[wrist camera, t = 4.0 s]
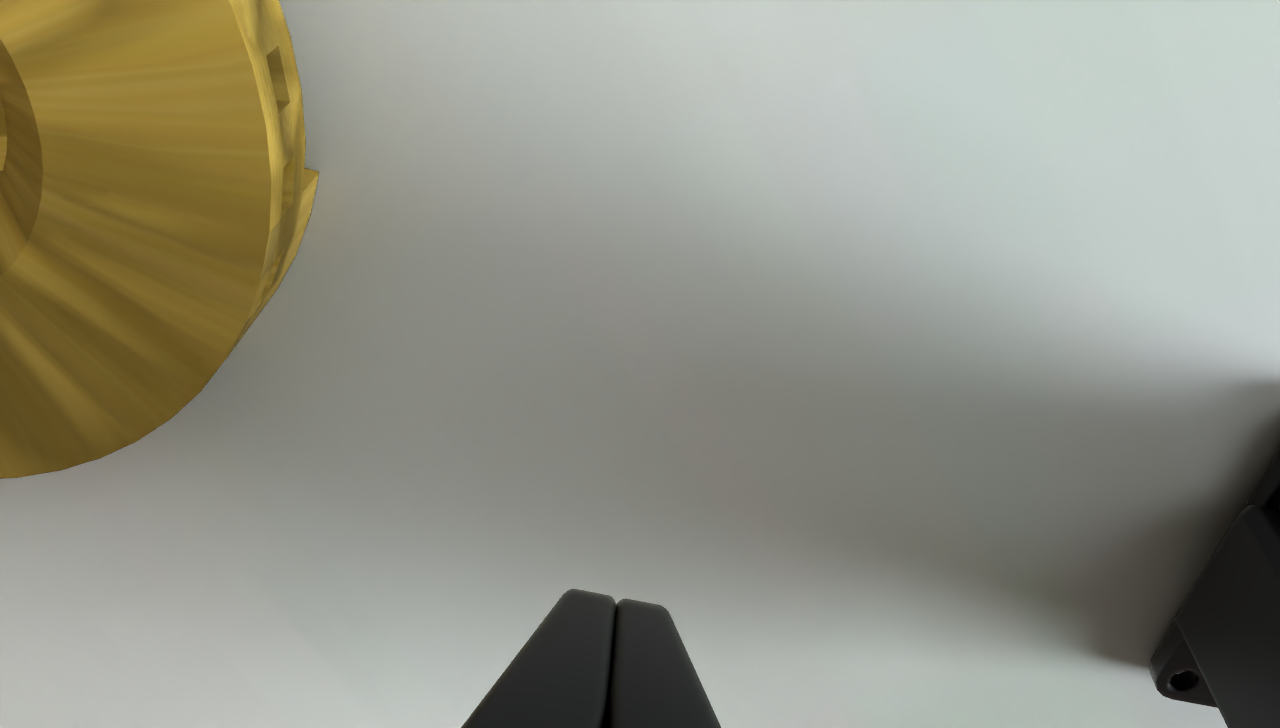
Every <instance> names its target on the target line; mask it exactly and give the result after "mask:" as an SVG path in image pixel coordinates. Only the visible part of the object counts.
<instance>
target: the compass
mask: <svg viewBox="0 0 1280 728" xmlns="http://www.w3.org/2000/svg"><path fill="white" fill-rule="evenodd" d="M305 146H306V141H305V128H304V116H303V103H302V91H301V86H300V81H299V76H298V71H297V66H296V61H295V56H294V52H293V47H292V42H291V37H290V33H289V30H288V27H287V24H286V21H285V18H284V15H283V12H282V9H281V6H280V3H279V0H0V479H1V478H18V477H24V476H30V475H36V474H42V473H48V472H54V471H60V470H63V469H66V468H70V467H73V466H76V465H80V464H83V463H86V462H89V461H93V460H96V459H99V458H102V457H104V456H106V455H108V454H110V453H113V452H115V451H117V450H119V449H121V448H123V447H126V446H128V445H130V444H132V443H134V442H136V441H138V440H140V439H141V438H143V437H144V436H146V435H147V434H149V433H150V432H152V431H153V430H155V429H156V428H158V427H159V426H161V425H162V424H164V423H165V422H167V421H168V420H170V419H171V418H172V417H173V416H174V415H176V414H177V413H178V412H179V411H180V410H181V409H182V408H183V407H184V406H185V405H186V404H188V403H189V402H190V401H191V400H192V399H193V398H194V397H195V396H196V395H197V394H198V393H200V392H201V390H202V389H203V388H204V386H205V385H206V384H207V383H208V381H209V380H210V379H211V378H212V376H213V375H214V374H215V372H216V371H217V370H218V369H219V367H220V366H221V365H222V363H223V362H224V361H225V360H226V358H227V357H228V356H229V354H230V353H231V351H232V350H233V349H234V347H235V346H236V345H237V343H238V342H239V341H240V339H241V338H242V336H243V335H244V334H245V332H246V331H247V330H248V328H249V327H250V325H251V324H252V323H253V321H254V320H255V319H256V317H257V316H258V315H259V313H260V312H261V310H262V309H263V308H264V306H265V305H266V304H267V302H268V301H269V300H270V298H271V297H272V295H273V294H274V293H275V291H276V290H277V288H278V287H279V285H280V283H281V281H282V279H283V277H284V276H285V274H286V272H287V270H288V268H289V267H290V265H291V263H292V261H293V259H294V258H295V256H296V254H297V251H298V248H299V245H300V243H301V240H302V237H303V234H304V232H305V229H306V226H307V223H308V221H309V218H310V215H311V210H312V205H313V200H314V196H315V191H316V186H317V181H318V176H319V172H317V171H314V170H310V169H307V168H304V165H305Z"/></svg>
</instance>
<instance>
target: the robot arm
mask: <svg viewBox="0 0 1280 728" xmlns="http://www.w3.org/2000/svg"><path fill="white" fill-rule="evenodd" d="M1149 671H1150V674H1151V676H1152V679H1153V681H1154V683H1155V686H1156V688H1157V690H1158V691H1159V692H1160V693H1161V694H1162V695H1163V696H1165V697H1168V698H1171V699H1174V700H1179V701H1185V702H1190V703H1196V704H1201V705H1206V706H1212V707H1217V708H1219V710H1220V712H1221V714H1222V716H1223V718H1224V720H1225V723H1226V725H1227V727H1228V728H1280V450H1279V452H1278V453H1277V455H1276V456H1275V458H1274V460H1273V461H1272V463H1271V465H1270V466H1269V468H1268V469H1267V471H1266V473H1265V474H1264V476H1263V478H1262V479H1261V481H1260V482H1259V484H1258V486H1257V487H1256V489H1255V491H1254V492H1253V494H1252V495H1251V497H1250V499H1249V500H1248V502H1247V504H1246V505H1245V507H1244V509H1243V510H1242V512H1241V513H1240V514H1239V515H1238V516H1237V517H1236V518H1235V520H1234V522H1233V523H1232V525H1231V526H1230V528H1229V530H1228V531H1227V533H1226V535H1225V536H1224V538H1223V540H1222V541H1221V543H1220V544H1219V546H1218V548H1217V549H1216V551H1215V553H1214V554H1213V556H1212V558H1211V559H1210V561H1209V562H1208V564H1207V566H1206V567H1205V569H1204V571H1203V572H1202V574H1201V575H1200V577H1199V579H1198V580H1197V582H1196V584H1195V585H1194V587H1193V589H1192V590H1191V592H1190V593H1189V595H1188V597H1187V598H1186V600H1185V602H1184V603H1183V605H1182V606H1181V608H1180V610H1179V611H1178V613H1177V615H1176V619H1175V621H1174V623H1173V624H1172V626H1171V627H1170V629H1169V631H1168V632H1167V634H1166V636H1165V637H1164V639H1163V640H1162V642H1161V644H1160V645H1159V647H1158V649H1157V650H1156V652H1155V654H1154V655H1153V657H1152V658H1151V661H1150V664H1149ZM1181 671H1185V672H1182V673H1179V672H1181ZM1176 673H1179V674H1176ZM461 728H721V726H720V724H719V722H718V719H717V717H716V715H715V713H714V711H713V708H712V706H711V704H710V702H709V700H708V697H707V695H706V693H705V691H704V689H703V686H702V684H701V682H700V680H699V678H698V675H697V673H696V671H695V669H694V667H693V664H692V662H691V660H690V658H689V655H688V653H687V651H686V649H685V647H684V644H683V642H682V640H681V638H680V636H679V633H678V631H677V629H676V627H675V625H674V622H673V620H672V618H671V616H670V614H669V612H668V611H667V609H666V608H664V607H663V606H661V605H657V604H651V603H646V602H641V601H636V600H630V599H622V600H620V601H619V602H618V603H617V604H615V601H614V599H613V598H612V597H611V596H609V595H604V594H599V593H593V592H588V591H583V590H578V589H571V590H568V591H567V592H566V593H564V594H563V595H562V597H561V598H560V599H559V601H558V602H557V603H556V605H555V606H554V607H553V608H552V610H551V611H550V612H549V614H548V615H547V616H546V618H545V619H544V620H543V621H542V623H541V624H540V625H539V627H538V628H537V629H536V631H535V632H534V633H533V635H532V636H531V637H530V638H529V640H528V641H527V642H526V644H525V645H524V646H523V648H522V649H521V650H520V652H519V653H518V654H517V655H516V657H515V658H514V659H513V661H512V662H511V663H510V665H509V666H508V667H507V668H506V670H505V671H504V672H503V674H502V675H501V676H500V678H499V679H498V680H497V682H496V683H495V684H494V685H493V687H492V688H491V689H490V691H489V692H488V693H487V695H486V696H485V697H484V699H483V700H482V701H481V702H480V704H479V705H478V706H477V708H476V709H475V710H474V712H473V713H472V714H471V715H470V717H469V718H468V719H467V721H466V722H465V723H464V725H463V726H462V727H461Z"/></svg>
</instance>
